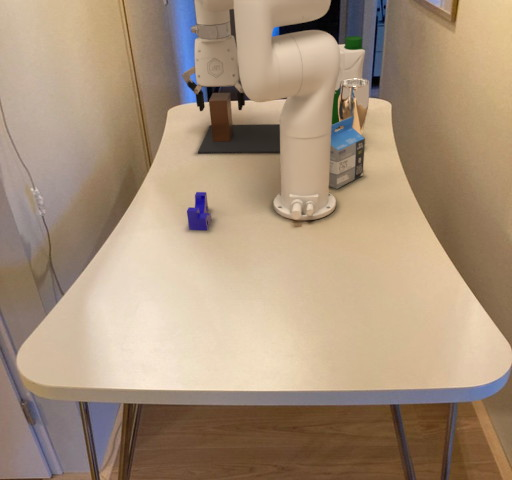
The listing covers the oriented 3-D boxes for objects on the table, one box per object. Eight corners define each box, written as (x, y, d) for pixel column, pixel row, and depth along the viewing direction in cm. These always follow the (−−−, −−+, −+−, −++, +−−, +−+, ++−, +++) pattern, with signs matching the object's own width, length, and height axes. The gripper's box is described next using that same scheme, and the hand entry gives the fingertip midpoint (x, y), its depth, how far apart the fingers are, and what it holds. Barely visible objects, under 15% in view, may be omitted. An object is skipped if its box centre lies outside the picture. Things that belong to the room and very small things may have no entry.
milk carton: (362, 126, 143) (369, 41, 130) (328, 130, 142) (332, 45, 129) (351, 115, 150) (357, 33, 136) (319, 118, 149) (322, 36, 136)
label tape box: (336, 189, 116) (339, 131, 108) (322, 184, 119) (324, 127, 111) (363, 176, 121) (368, 119, 113) (349, 171, 123) (352, 115, 115)
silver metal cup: (333, 152, 131) (337, 86, 121) (337, 141, 136) (340, 77, 126) (363, 154, 130) (368, 87, 120) (365, 142, 135) (371, 77, 125)
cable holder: (207, 230, 106) (204, 211, 103) (189, 229, 107) (186, 211, 104) (215, 210, 112) (213, 192, 109) (198, 210, 112) (196, 191, 110)
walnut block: (230, 141, 138) (226, 100, 132) (212, 142, 139) (208, 100, 132) (233, 132, 143) (230, 92, 136) (216, 133, 143) (212, 92, 136)
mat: (287, 153, 132) (287, 151, 132) (198, 153, 135) (197, 151, 134) (291, 125, 146) (291, 124, 145) (210, 126, 148) (209, 125, 148)
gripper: (173, 36, 123) (184, 114, 134) (250, 33, 121) (254, 113, 132) (180, 29, 128) (190, 105, 139) (253, 26, 126) (257, 103, 137)
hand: (221, 109), depth 136 cm, fingers open, 9 cm apart
